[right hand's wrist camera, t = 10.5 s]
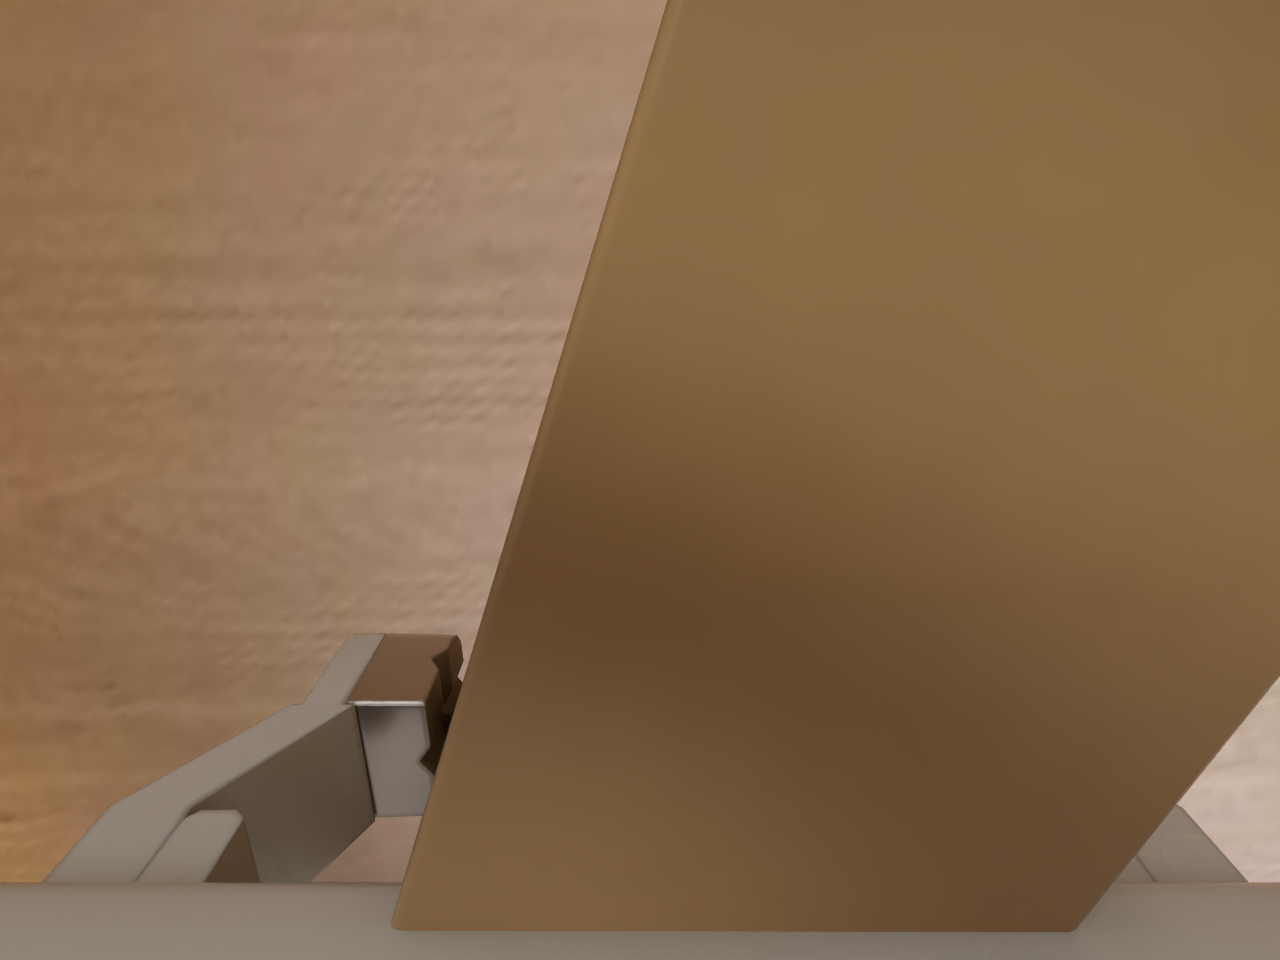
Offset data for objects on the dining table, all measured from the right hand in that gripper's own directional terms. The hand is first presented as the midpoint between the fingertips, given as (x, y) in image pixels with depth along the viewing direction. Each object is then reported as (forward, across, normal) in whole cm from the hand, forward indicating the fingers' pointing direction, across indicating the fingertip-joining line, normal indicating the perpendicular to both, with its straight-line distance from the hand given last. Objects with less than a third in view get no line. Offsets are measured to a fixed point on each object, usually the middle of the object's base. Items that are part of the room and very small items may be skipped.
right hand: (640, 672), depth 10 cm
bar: (+4, -2, -7) cm, 8 cm away
